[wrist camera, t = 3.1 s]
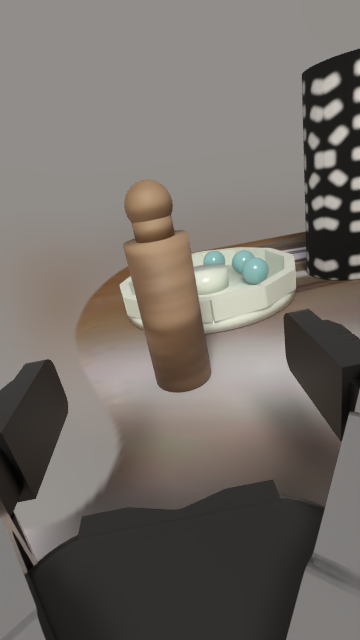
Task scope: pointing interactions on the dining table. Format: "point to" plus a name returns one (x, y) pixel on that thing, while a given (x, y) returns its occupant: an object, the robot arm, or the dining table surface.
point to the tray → (234, 287)
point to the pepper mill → (165, 289)
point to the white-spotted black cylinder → (332, 166)
